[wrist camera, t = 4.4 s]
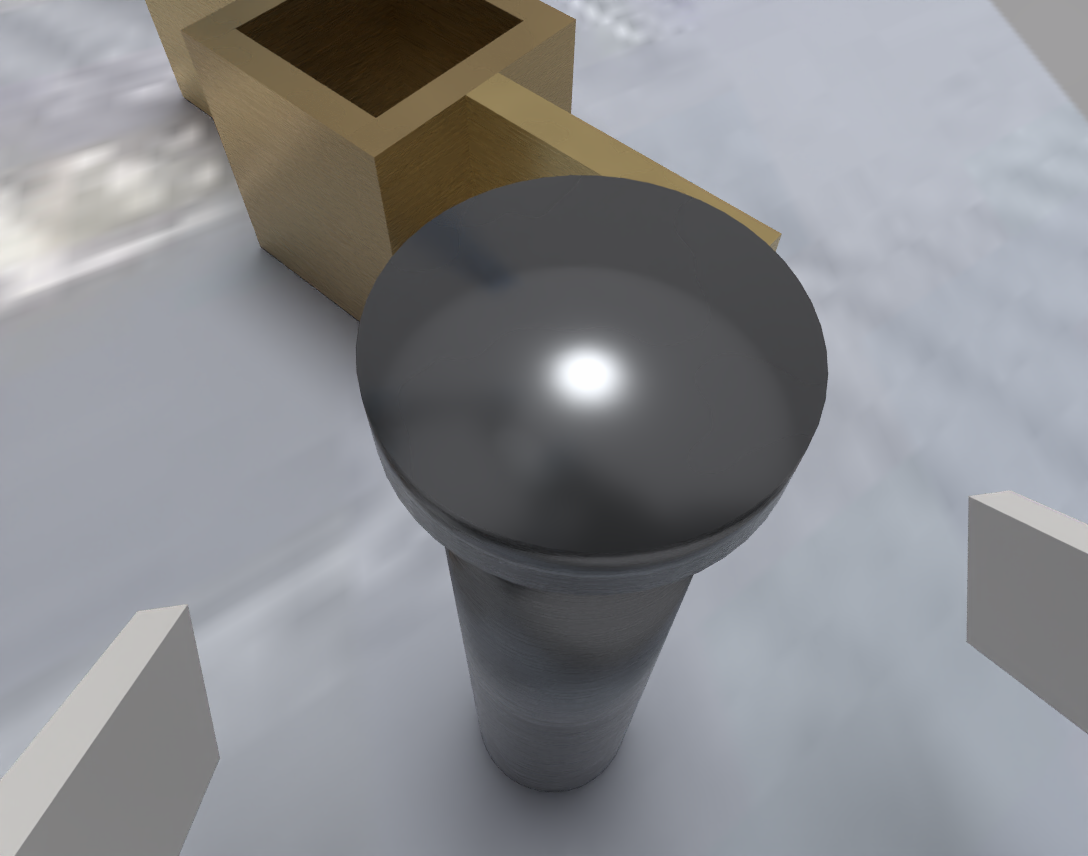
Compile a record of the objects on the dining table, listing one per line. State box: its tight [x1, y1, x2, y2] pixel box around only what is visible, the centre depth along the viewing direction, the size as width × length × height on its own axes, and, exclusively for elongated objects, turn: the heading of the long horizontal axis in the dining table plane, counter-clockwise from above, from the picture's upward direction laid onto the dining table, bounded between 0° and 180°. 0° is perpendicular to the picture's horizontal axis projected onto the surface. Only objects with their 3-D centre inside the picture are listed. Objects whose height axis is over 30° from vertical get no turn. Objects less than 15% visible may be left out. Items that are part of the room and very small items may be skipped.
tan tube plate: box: [145, 0, 781, 321], centre depth 26 cm, size 24×7×8 cm, turn 49°
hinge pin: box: [356, 175, 828, 792], centre depth 15 cm, size 5×5×15 cm
